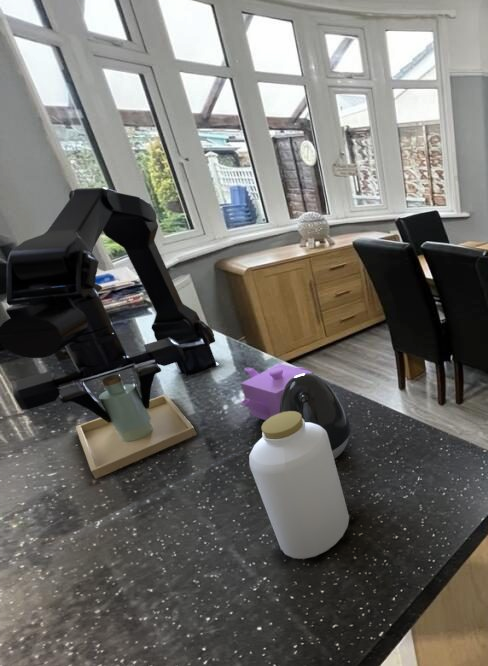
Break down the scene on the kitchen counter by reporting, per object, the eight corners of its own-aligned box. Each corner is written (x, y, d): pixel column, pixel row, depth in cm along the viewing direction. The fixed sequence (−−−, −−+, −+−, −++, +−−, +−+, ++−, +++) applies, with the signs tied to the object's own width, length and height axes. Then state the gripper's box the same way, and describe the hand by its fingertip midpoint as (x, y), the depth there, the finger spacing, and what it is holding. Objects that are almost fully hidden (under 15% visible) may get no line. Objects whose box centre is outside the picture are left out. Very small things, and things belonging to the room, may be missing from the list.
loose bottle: (147, 413, 69) (125, 368, 65) (153, 422, 66) (131, 376, 63) (113, 425, 66) (89, 379, 62) (118, 436, 63) (93, 388, 60)
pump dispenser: (288, 487, 59) (259, 403, 53) (288, 446, 68) (264, 369, 62) (358, 463, 63) (340, 383, 57) (350, 427, 72) (333, 354, 66)
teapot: (221, 425, 73) (203, 380, 69) (283, 389, 84) (271, 349, 80) (289, 450, 67) (273, 402, 63) (347, 407, 78) (337, 364, 74)
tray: (169, 401, 81) (166, 393, 80) (197, 436, 71) (193, 427, 70) (80, 435, 72) (75, 426, 71) (97, 481, 61) (91, 471, 60)
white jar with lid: (297, 510, 55) (262, 403, 48) (357, 505, 56) (331, 398, 49) (269, 566, 48) (221, 449, 40) (339, 560, 48) (305, 443, 41)
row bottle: (150, 423, 74) (130, 382, 70) (156, 432, 71) (135, 390, 68) (118, 435, 71) (96, 393, 67) (123, 445, 68) (101, 401, 65)
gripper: (151, 300, 70) (183, 375, 77) (-12, 336, 57) (42, 424, 63) (168, 314, 64) (201, 395, 70) (-12, 358, 51) (48, 453, 57)
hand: (129, 414), depth 65 cm, fingers closed on loose bottle, 4 cm apart
